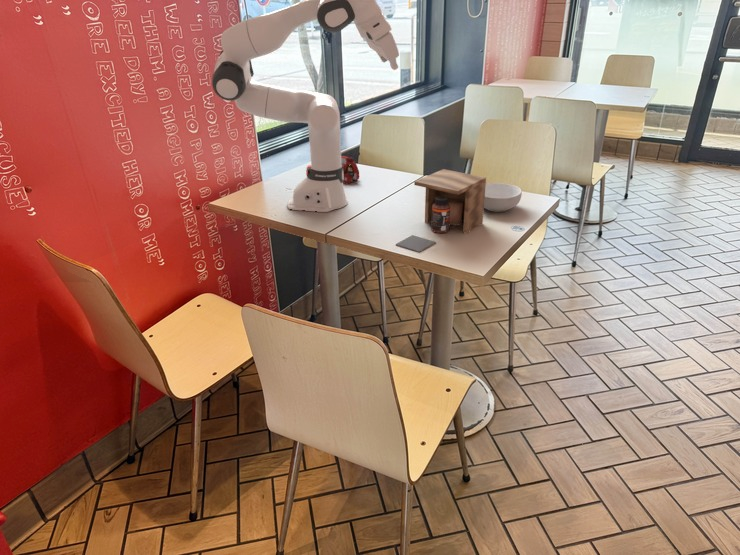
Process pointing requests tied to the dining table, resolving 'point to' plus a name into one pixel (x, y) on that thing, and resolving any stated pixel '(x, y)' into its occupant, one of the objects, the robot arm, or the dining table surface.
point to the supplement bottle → (440, 215)
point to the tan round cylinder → (456, 212)
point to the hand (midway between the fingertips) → (390, 64)
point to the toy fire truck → (349, 169)
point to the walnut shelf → (456, 194)
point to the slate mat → (415, 243)
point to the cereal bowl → (501, 196)
